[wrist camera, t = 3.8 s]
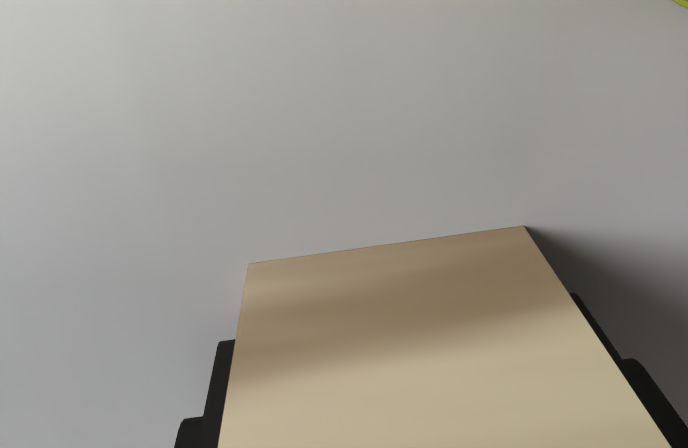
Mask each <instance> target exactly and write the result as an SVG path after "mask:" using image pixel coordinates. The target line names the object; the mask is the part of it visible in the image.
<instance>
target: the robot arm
mask: <svg viewBox="0 0 688 448" xmlns="http://www.w3.org/2000/svg"><path fill="white" fill-rule="evenodd" d="M569 295H570V296H571V298H572V299H573V301H574V302H575V304H576V305H577V307H578V308H579V310H580V311H581V313H582V314H583V316H584V317H585V319H586V320H587V322H588V323H589V325H590V326H591V328H592V329H593V331H594V332H595V334H596V335H597V337H598V338H599V340H600V341H601V343H602V344H603V346H604V347H605V349H606V350H607V352H608V353H609V355H610V356H611V358H612V359H613V361H614V362H615V364H616V365H617V367H618V368H619V370H620V371H621V373H622V374H623V376H624V377H625V379H626V380H627V382H628V383H629V385H630V386H631V388H632V389H633V391H634V392H635V394H636V395H637V397H638V398H639V400H640V401H641V403H642V404H643V406H644V407H645V409H646V410H647V412H648V413H649V415H650V416H651V418H652V419H653V421H654V422H655V424H656V425H657V427H658V428H659V430H660V431H661V433H662V434H663V436H664V437H665V439H666V440H667V442H668V443H669V445H670V446H671V448H688V428H687V426H686V425H685V423H684V422H683V421H682V419H681V418H680V417H679V415H678V414H677V412H676V411H675V410H674V408H673V407H672V405H671V404H670V403H669V401H668V400H667V399H666V397H665V396H664V394H663V393H662V392H661V390H660V389H659V388H658V386H657V385H656V383H655V382H654V381H653V379H652V378H651V376H650V375H649V374H648V372H647V371H646V370H645V368H644V367H643V366H642V365H641V364H640V363H639V362H638V361H637V360H635V359H633V358H631V359H623V360H622V359H621V357H620V356H619V354H618V353H617V351H616V350H615V348H614V347H613V346H612V344H611V343H610V341H609V340H608V338H607V337H606V335H605V334H604V332H603V331H602V330H601V328H600V327H599V325H598V324H597V322H596V321H595V319H594V318H593V317H592V315H591V314H590V312H589V311H588V309H587V308H586V306H585V305H584V303H583V302H582V301H581V299H580V298H579V296H578V295H577V294H575V293H570V294H569ZM235 340H236V339H234V340H227V341H220V342H219V343H218V347H217V351H216V356H215V361H214V366H213V371H212V375H211V380H210V385H209V390H208V395H207V400H206V405H205V410H204V414H203V416H202V417H194V418H187V419H184V420H183V421H182V422H181V424H180V427H179V430H178V434H177V438H176V442H175V446H174V448H218V442H219V436H220V430H221V424H222V418H223V412H224V406H225V400H226V394H227V388H228V382H229V376H230V370H231V364H232V358H233V352H234V346H235Z"/></svg>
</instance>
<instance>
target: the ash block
mask: <svg viewBox="0 0 688 448" xmlns="http://www.w3.org/2000/svg"><path fill="white" fill-rule="evenodd" d="M218 448H671V446H670V445H669V443H668V442H667V440H666V439H665V437H664V436H663V434H662V433H661V431H660V430H659V428H658V427H657V425H656V424H655V422H654V421H653V419H652V418H651V416H650V415H649V413H648V412H647V410H646V409H645V407H644V406H643V404H642V403H641V401H640V400H639V398H638V397H637V395H636V394H635V392H634V391H633V389H632V388H631V386H630V385H629V383H628V382H627V380H626V379H625V377H624V376H623V374H622V373H621V371H620V370H619V368H618V367H617V365H616V364H615V362H614V361H613V359H612V358H611V356H610V355H609V353H608V352H607V350H606V349H605V347H604V346H603V344H602V343H601V341H600V340H599V338H598V337H597V335H596V334H595V332H594V331H593V329H592V328H591V326H590V325H589V323H588V322H587V320H586V319H585V317H584V316H583V314H582V313H581V311H580V310H579V308H578V307H577V305H576V304H575V302H574V301H573V299H572V298H571V296H570V295H569V293H568V292H567V290H566V289H565V287H564V286H563V284H562V283H561V281H560V280H559V278H558V277H557V275H556V274H555V272H554V271H553V269H552V268H551V266H550V265H549V263H548V262H547V260H546V259H545V257H544V256H543V254H542V253H541V251H540V250H539V248H538V247H537V245H536V244H535V242H534V241H533V239H532V238H531V236H530V235H529V233H528V232H527V230H526V229H525V227H524V226H518V227H511V228H504V229H496V230H489V231H482V232H475V233H468V234H460V235H453V236H446V237H439V238H432V239H424V240H417V241H410V242H403V243H396V244H388V245H381V246H374V247H367V248H359V249H352V250H345V251H338V252H331V253H323V254H316V255H309V256H302V257H295V258H287V259H280V260H273V261H266V262H259V263H251V264H248V268H247V274H246V280H245V286H244V292H243V298H242V304H241V310H240V316H239V322H238V328H237V334H236V340H235V346H234V352H233V358H232V364H231V370H230V376H229V382H228V388H227V394H226V400H225V406H224V412H223V418H222V424H221V430H220V436H219V442H218Z"/></svg>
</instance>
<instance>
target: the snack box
mask: <svg viewBox="0 0 688 448" xmlns="http://www.w3.org/2000/svg"><path fill="white" fill-rule="evenodd" d="M673 1H675V2H676V3H678V4H679V5H681V6H684V7H687V8H688V0H673Z"/></svg>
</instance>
